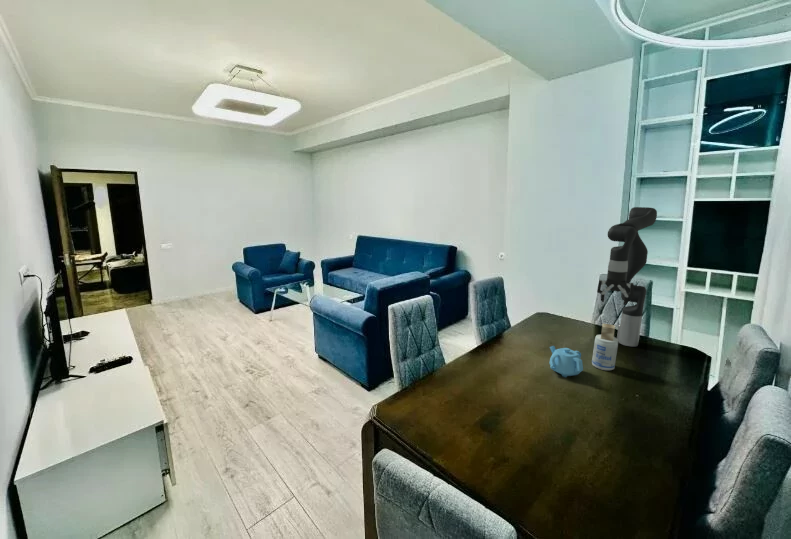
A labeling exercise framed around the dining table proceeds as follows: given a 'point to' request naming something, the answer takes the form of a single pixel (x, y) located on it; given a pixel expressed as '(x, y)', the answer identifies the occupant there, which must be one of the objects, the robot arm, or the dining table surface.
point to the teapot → (566, 361)
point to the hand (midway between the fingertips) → (613, 303)
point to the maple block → (608, 332)
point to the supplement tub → (604, 353)
